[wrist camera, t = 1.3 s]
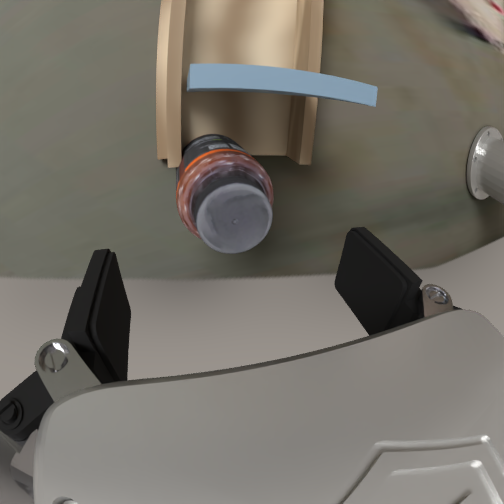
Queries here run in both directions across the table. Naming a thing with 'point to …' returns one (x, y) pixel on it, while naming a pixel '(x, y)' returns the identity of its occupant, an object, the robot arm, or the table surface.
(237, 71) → the pusher plate
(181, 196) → the supplement bottle
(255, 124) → the lane tray
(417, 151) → the table surface
